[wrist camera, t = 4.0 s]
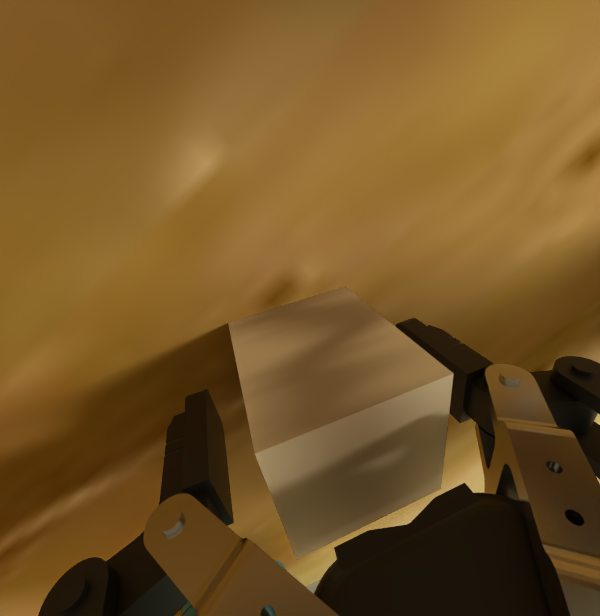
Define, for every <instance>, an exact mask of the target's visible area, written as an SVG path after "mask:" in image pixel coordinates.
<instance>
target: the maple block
mask: <svg viewBox="0 0 600 616" xmlns="http://www.w3.org/2000/svg"><path fill="white" fill-rule="evenodd" d="M228 325H229V330H230V335H231V340H232V345H233V350H234V355H235V359H236V364H237V369H238V374H239V379H240V384H241V389H242V394H243V399H244V404H245V408H246V413H247V418H248V423H249V428H250V433H251V438H252V443H253V448H254V452H255V456H256V458H257V461H258V463H259V466H260V468H261V471H262V473H263V476H264V478H265V481H266V483H267V486H268V488H269V491H270V493H271V496H272V498H273V501H274V503H275V506H276V508H277V511H278V513H279V516H280V518H281V521H282V523H283V526H284V528H285V531H286V533H287V536H288V538H289V541H290V543H291V546H292V548H293V551H294V553H295V556H296V558H297V559H298V558H300V557H302V556H304V555H306V554H309V553H311V552H313V551H315V550H317V549H319V548H321V547H323V546H325V545H327V544H329V543H331V542H333V541H335V540H337V539H339V538H341V537H343V536H345V535H347V534H349V533H351V532H353V531H356V530H358V529H360V528H362V527H364V526H366V525H368V524H370V523H372V522H374V521H376V520H378V519H380V518H382V517H384V516H386V515H388V514H390V513H392V512H394V511H396V510H398V509H400V508H402V507H405V506H407V505H409V504H411V503H413V502H415V501H417V500H419V499H421V498H423V497H425V496H427V495H429V494H431V493H433V492H435V491H437V490H439V489H441V483H442V474H443V465H444V456H445V447H446V438H447V429H448V420H449V411H450V402H451V393H452V384H453V375H454V373H452V372H451V371H450V370H449V369H447V368H446V367H445V366H444V365H442V364H441V363H440V362H439V361H437V360H436V359H435V358H434V357H432V356H431V355H430V354H429V353H428V352H426V351H425V350H424V349H423V348H421V347H420V346H419V345H418V344H416V343H415V342H414V341H413V340H411V339H410V338H409V337H408V336H406V335H405V334H404V333H403V332H401V331H400V330H399V329H398V328H397V327H395V326H394V325H393V324H392V323H390V322H389V321H388V320H387V319H385V318H384V317H383V316H382V315H380V314H379V313H378V312H377V311H375V310H374V309H373V308H372V307H370V306H369V305H368V304H367V303H366V302H364V301H363V300H362V299H361V298H359V297H358V296H357V295H356V294H354V293H353V292H352V291H351V290H349V289H348V288H347V287H342V288H339V289H336V290H333V291H329V292H326V293H323V294H320V295H316V296H313V297H310V298H307V299H304V300H300V301H297V302H294V303H291V304H287V305H284V306H281V307H278V308H275V309H271V310H268V311H265V312H262V313H258V314H255V315H252V316H249V317H245V318H242V319H239V320H236V321H233V322H229V323H228Z"/></svg>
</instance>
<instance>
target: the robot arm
mask: <svg viewBox="0 0 600 616" xmlns="http://www.w3.org/2000/svg"><path fill="white" fill-rule="evenodd" d="M396 327H397V328H398V329H399V330H400V331H401V332H403V333H404V334H405V335H406V336H408V337H409V338H410V339H411V340H413V341H414V342H415V343H416V344H418V345H419V346H420V347H421V348H423V349H424V350H425V351H426V352H428V353H429V354H430V355H431V356H432V357H434V358H435V359H436V360H437V361H439V362H440V363H441V364H442V365H444V366H445V367H446V368H447V369H449V370H450V371H451V372H452V373H454V375H453V384H452V393H451V402H450V411H449V413H450V414H451V415H452V416H453V417H454V418H455V419H456V420H458V421H459V422H460V423H461V422H464V421H466V420H468V419H470V418H472V419H473V420H474V421H475V422H476V425H475V430H476V435H477V441H478V446H479V451H480V456H481V461H482V466H483V472H484V479H485V493H473V492H472V491H471V490H470V489H469V487H468V486H467V485H466V484H465V483H463V484H461V485H459V486H457V487H455V488H453V489H451V490H449V491H447V492H445V493H443V494H441V495H439V496H437V497H435V498H434V499H433V500H432V501H431V502H430V503H429V504H428V505H427V506H426V507H425V508H424V510H423V511H422V512H421V513H420V514H419V515H418V516H417V517H416V518H415V519H414V520H413V521H412V522H411V523H409V524H407V525H402V526H395V527H389V528H382V529H375V530H369V531H367V532H365V533H363V534H361V535H359V536H357V537H355V538H353V539H351V540H349V541H347V542H344V543H342V544H340V545H338V546H336V547H334V549H335V553H336V557H337V560H336V561H335V562H334V563H333V564H332V565H331V566H330V567H329V569H328V570H327V571H326V573H325V574H324V575H323V577H322V579H321V580H320V582H319V584H318V585H317V588H316V590H315V592H314V594H313V593H312V592H311V591H310V590H308V589H307V588H306V587H305V586H304V585H303V584H301V583H300V582H299V581H298V580H297V579H296V578H294V577H293V576H292V575H291V574H290V573H289V572H287V571H286V570H285V569H284V568H283V567H282V566H280V565H279V564H278V563H277V562H276V561H275V560H273V559H272V558H271V557H270V556H269V555H268V554H266V553H265V552H264V551H263V550H262V549H260V548H259V547H258V546H257V545H256V544H255V543H253V542H252V541H250V540H249V539H247V538H244V539H242V538H241V537H239V536H238V535H237V534H236V533H234V532H233V531H232V530H231V529H230V528H229V527H228V526H227V525H230V524H232V523H234V522H233V512H232V503H231V494H230V484H229V475H228V466H227V456H226V447H225V438H224V430H223V426H222V422H221V419H220V417H219V414H218V412H217V410H216V408H215V405H214V403H213V401H212V399H211V396H210V394H209V392H208V391H207V390H204V391H201V392H198V393H195V394H192V395H189V396H187V397H186V399H185V412H184V413H181V414H178V415H175V416H174V418H173V420H172V422H171V424H170V425H169V427H168V429H167V438H166V444H167V445H166V448H165V457H164V467H163V476H162V486H161V495H160V502H159V506H158V507H157V508H156V509H155V510H154V512H153V513H152V515H151V516H150V518H149V520H148V521H147V524H146V526H145V530H144V532H143V533H142V534H141V535H140V536H139V537H137V538H136V539H135V540H134V541H133V542H131V543H130V544H129V545H127V546H126V547H125V548H123V549H122V550H121V551H119V552H118V553H117V554H116V555H114V556H113V557H112V558H110V559H109V560H108V561H106V562H105V561H104V560H102V559H101V558H97V557H93V558H88V559H86V560H83V561H81V562H79V563H78V564H76V565H75V566H73V567H72V568H71V569H69V570H68V571H67V572H66V573H65V574H64V575H63V576H62V577H61V578H60V579H59V580H58V581H57V583H56V584H55V585H54V586H53V588H52V589H51V591H50V592H49V594H48V595H47V597H46V599H45V601H44V603H43V605H42V607H41V609H40V612H39V615H38V616H174V615H175V614H176V613H177V612H178V611H179V610H180V609H181V608H182V607H183V606H184V605H185V604H187V603H188V602H190V603H191V604H192V606H193V607H194V608H195V610H196V612H197V613H198V615H199V616H600V484H599V482H598V480H597V478H596V477H598V478H599V479H600V425H599V424H597V423H596V422H594V420H595V418H596V416H597V414H598V413H599V414H600V364H599V363H597V362H595V361H592V360H590V359H586V358H582V357H575V356H567V357H561V358H559V359H557V360H556V361H555V364H554V367H553V370H550V371H540V372H530V373H529V372H528V371H526V370H525V369H523V368H520V367H518V366H515V365H511V364H493V363H492V362H490V361H489V360H487V359H486V358H484V357H483V356H481V355H480V354H478V353H477V352H475V351H474V350H472V349H471V348H469V347H468V346H466V345H465V344H461V342H460V341H459V340H457V339H456V338H453V337H452V336H451V335H450V334H448V333H447V332H445V331H444V330H442V329H439V328H436V327H433V326H430V325H428V326H426V325H424V324H423V323H422V322H420V321H419V320H417V319H415V318H412V319H409V320H406V321H403V322H400V323H398V324H396Z"/></svg>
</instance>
